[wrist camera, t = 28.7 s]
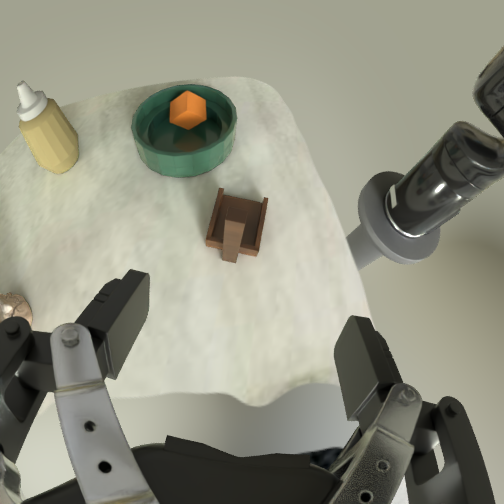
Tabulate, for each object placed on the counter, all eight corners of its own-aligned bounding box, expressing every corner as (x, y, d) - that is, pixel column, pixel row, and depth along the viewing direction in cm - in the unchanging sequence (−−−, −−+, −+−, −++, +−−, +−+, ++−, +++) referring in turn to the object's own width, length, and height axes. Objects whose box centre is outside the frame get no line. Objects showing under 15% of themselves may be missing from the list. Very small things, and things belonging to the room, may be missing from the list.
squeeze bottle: (72, 182, 38) (21, 103, 21) (38, 178, 37) (-14, 108, 20) (92, 142, 40) (57, 60, 23) (58, 140, 40) (20, 67, 23)
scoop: (254, 267, 37) (271, 229, 26) (203, 256, 37) (198, 214, 25) (265, 205, 40) (284, 152, 29) (219, 195, 40) (221, 139, 28)
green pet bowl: (242, 115, 45) (245, 92, 40) (221, 187, 40) (222, 165, 35) (158, 103, 44) (155, 80, 39) (124, 170, 39) (114, 148, 34)
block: (187, 110, 37) (187, 90, 37) (169, 122, 39) (170, 102, 40) (206, 119, 40) (205, 99, 41) (188, 130, 42) (188, 110, 43)
